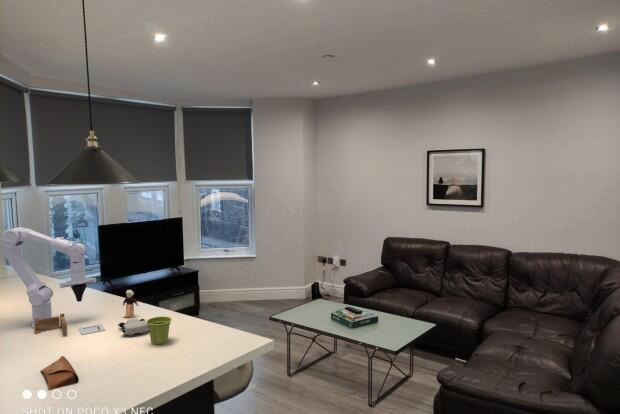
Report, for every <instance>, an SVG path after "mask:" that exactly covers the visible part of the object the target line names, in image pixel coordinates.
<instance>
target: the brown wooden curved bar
mask: <svg viewBox="0 0 620 414" xmlns="http://www.w3.org/2000/svg"><path fill="white" fill-rule="evenodd" d="M59 324H60V326H61V327H62V329H61V330H62V335H63V336H64V335H65V336H66V335H67V334H68V325H67V324H68V323H67V321H66V318H65V313H60V314H59Z"/></svg>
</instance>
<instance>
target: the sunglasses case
mask: <svg viewBox="0 0 620 414" xmlns="http://www.w3.org/2000/svg"><path fill="white" fill-rule="evenodd" d="M39 373H41V374H42V376H43V377H44V379H45V381H46V383H47V388H48V391H53V390H56V389H59V388H65V387H67V386H71V385H75V384H78V383H79V381H80V379H79V376H78V374H77V373H76V370H75V369H74V368H73V366H72V364H71V362H69V360H68V359H67V357H65V356H64V355H61V356H60V357H59V358H58V359H57V360H55V361H54V362H52V363H50V364H49V365H48V366H46V367H45V368H42V369H41V370H40V371H39Z"/></svg>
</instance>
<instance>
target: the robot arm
mask: <svg viewBox="0 0 620 414" xmlns="http://www.w3.org/2000/svg"><path fill="white" fill-rule="evenodd" d="M0 241H1V243H2V253H3V255H4V257H6V260H7V261H8V262H9V264H10V265H11V267H12V268H13V270H14V271H15V272H16V274H17V275H18V277H19V278H20V280H21V281H22V283H23V284H24V285H25V287H26V295H27V296H28V302H29V303H30V305H31V316H32V317H31V318H32V320H31V321H30V322H31V328H32V329H35V319H36V318H39V319H45V318H51V317H53V315H52V313H53V311H52V300H51V299H52V298H53V297H54V292H53V291H54V290H53V289H52V288H51V287H49V286H47V284H46V283H45V282H43V281H41V280H40V278H39V277H38V276H37V274H36V273H35V272H34V270H33V268H32V267H31V266H30V265H29V263H28V261H27V259H26V258H25V257H24V256H23V254H22V252H21V248H22V247H21V246H22V245H23V243H24V242H26V241H33V242H37V243H40V244H43V245H47V246H50V248H51V249H52V250H54V251H56V252H59V253H62V254H65V255H68V256H69V262H70V263H69V264H70V265H69V266H70V268H69V269H70V280H68V281H65V282H61V283H59V289H65V288H70V289H71V290H72V292H73V294H74V296H75V298H76V302H78V303H80V302H82V301H83V296H84V293H85V291H86V289H87V284H92V283H93V284H95V283H97V278H96V277H89V278H88V277H87V278H86V260H85V259H86V258H85V253H86V252H87V248H86V245H85V244H83V243H82V242H76V241H74V240H73V241H71V240H68V239H65V237H63V236H57V237H55V238H53V237H51V236H48V235H46V234H43V233H40V232H37V230H33V229H31V228H27V227H24V226H17V227H14V228H7V229H6V230H5V231H4V232H3V233H2V235H1V237H0Z"/></svg>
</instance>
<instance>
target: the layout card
mask: <svg viewBox="0 0 620 414" xmlns="http://www.w3.org/2000/svg"><path fill="white" fill-rule="evenodd" d="M78 331H79V332H80V335H81V336H83V335H89V334H95V333H100V332H106V329H105V327H104V325H103V324H102V323H100V324H93V325H87V326H84V327H83V326H82V327H78Z"/></svg>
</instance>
